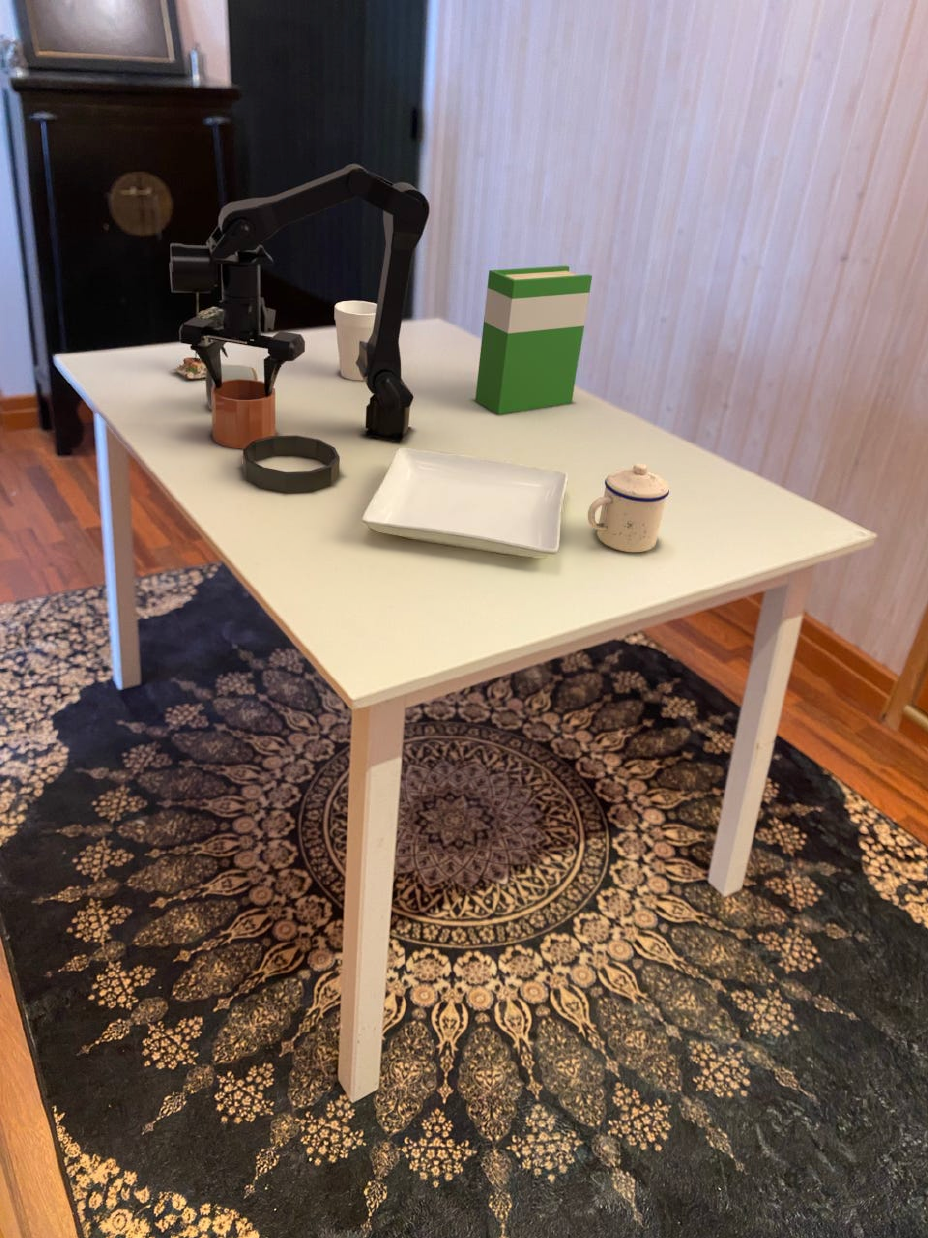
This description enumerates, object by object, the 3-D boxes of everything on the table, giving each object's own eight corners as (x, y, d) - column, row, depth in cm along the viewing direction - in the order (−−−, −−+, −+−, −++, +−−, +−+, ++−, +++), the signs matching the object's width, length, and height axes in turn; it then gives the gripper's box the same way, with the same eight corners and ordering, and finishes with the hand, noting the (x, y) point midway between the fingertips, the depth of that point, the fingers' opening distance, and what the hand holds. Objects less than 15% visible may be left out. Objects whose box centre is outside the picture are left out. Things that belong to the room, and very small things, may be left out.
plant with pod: (240, 376, 190) (238, 266, 179) (182, 383, 183) (177, 270, 173) (222, 362, 195) (219, 255, 184) (165, 369, 189) (159, 258, 178)
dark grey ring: (349, 463, 160) (350, 445, 159) (319, 499, 149) (319, 479, 147) (265, 448, 162) (265, 429, 161) (228, 482, 151) (228, 462, 149)
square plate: (358, 543, 138) (359, 518, 136) (397, 466, 161) (399, 443, 159) (554, 573, 136) (558, 548, 134) (565, 491, 160) (569, 468, 158)
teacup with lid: (633, 521, 153) (648, 449, 146) (669, 549, 146) (686, 475, 140) (566, 531, 147) (579, 457, 141) (600, 561, 141) (615, 484, 135)
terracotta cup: (284, 431, 169) (284, 385, 165) (261, 453, 161) (260, 405, 156) (228, 421, 170) (227, 375, 166) (202, 442, 162) (200, 394, 158)
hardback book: (548, 390, 200) (566, 265, 187) (571, 402, 195) (592, 275, 182) (475, 400, 191) (489, 270, 178) (498, 414, 186) (514, 281, 173)
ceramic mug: (260, 413, 174) (260, 370, 170) (213, 416, 171) (211, 371, 167) (247, 393, 183) (246, 351, 179) (201, 395, 180) (199, 352, 176)
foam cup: (325, 377, 194) (326, 308, 187) (343, 363, 201) (346, 297, 194) (371, 386, 192) (374, 317, 185) (388, 372, 199) (392, 306, 192)
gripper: (317, 290, 159) (316, 385, 167) (207, 272, 161) (210, 367, 170) (291, 307, 149) (291, 407, 158) (174, 288, 152) (180, 388, 160)
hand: (243, 391), depth 162 cm, fingers open, 8 cm apart
